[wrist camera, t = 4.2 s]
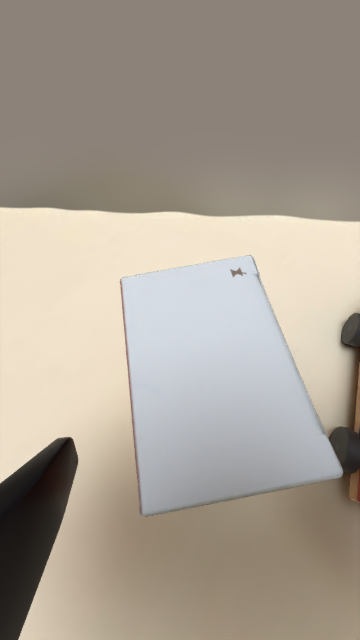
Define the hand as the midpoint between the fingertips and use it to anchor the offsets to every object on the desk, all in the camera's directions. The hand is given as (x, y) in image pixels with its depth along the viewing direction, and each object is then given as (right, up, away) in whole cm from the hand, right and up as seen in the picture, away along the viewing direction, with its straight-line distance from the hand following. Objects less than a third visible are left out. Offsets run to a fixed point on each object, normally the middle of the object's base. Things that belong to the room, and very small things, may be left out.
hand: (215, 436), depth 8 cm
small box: (0, -2, +10) cm, 10 cm away
